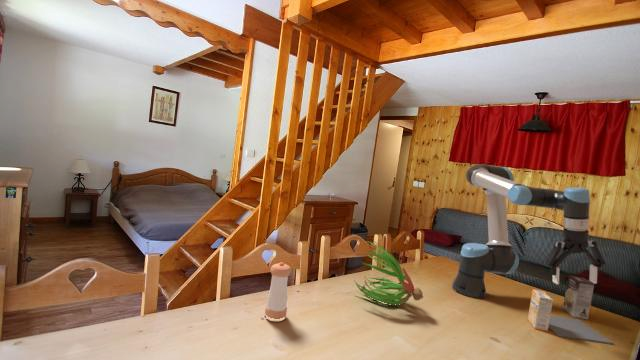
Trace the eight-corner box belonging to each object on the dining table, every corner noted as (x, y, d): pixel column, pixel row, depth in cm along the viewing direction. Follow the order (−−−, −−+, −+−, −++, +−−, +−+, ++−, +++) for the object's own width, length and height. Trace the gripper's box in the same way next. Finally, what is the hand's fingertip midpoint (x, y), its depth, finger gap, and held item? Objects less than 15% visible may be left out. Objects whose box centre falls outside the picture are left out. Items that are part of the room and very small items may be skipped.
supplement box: (526, 319, 135) (531, 288, 134) (540, 322, 133) (545, 291, 132) (534, 329, 127) (539, 296, 126) (548, 332, 125) (553, 299, 124)
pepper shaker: (289, 316, 113) (296, 262, 112) (278, 324, 106) (285, 267, 105) (272, 309, 116) (278, 257, 115) (260, 317, 109) (266, 262, 108)
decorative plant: (415, 337, 120) (338, 311, 130) (422, 300, 142) (356, 280, 153) (427, 275, 113) (345, 253, 123) (432, 246, 135) (363, 229, 146)
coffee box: (561, 307, 152) (567, 274, 151) (576, 310, 151) (583, 277, 150) (572, 316, 144) (578, 281, 142) (589, 319, 142) (595, 284, 141)
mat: (558, 336, 123) (558, 334, 123) (530, 313, 141) (530, 312, 141) (613, 344, 122) (613, 342, 122) (578, 320, 140) (578, 319, 140)
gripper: (547, 232, 120) (546, 287, 122) (619, 230, 118) (617, 286, 120) (535, 227, 128) (534, 279, 130) (603, 225, 126) (601, 277, 128)
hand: (574, 282), depth 125 cm, fingers open, 13 cm apart
